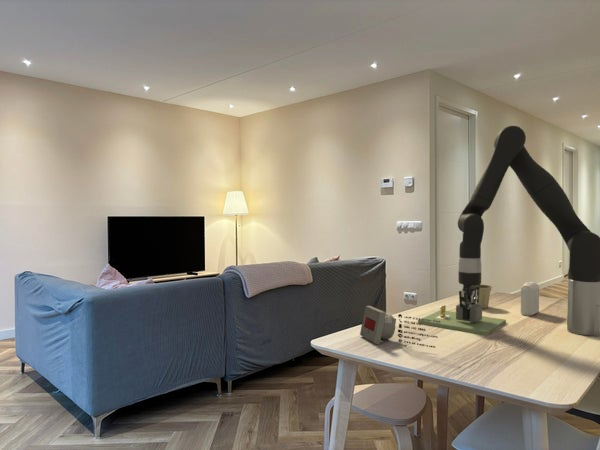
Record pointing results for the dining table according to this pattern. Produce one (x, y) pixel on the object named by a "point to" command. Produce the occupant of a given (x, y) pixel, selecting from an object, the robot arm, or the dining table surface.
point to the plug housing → (474, 313)
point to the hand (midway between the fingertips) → (469, 317)
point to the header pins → (442, 311)
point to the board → (463, 323)
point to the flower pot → (484, 295)
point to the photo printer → (529, 298)
